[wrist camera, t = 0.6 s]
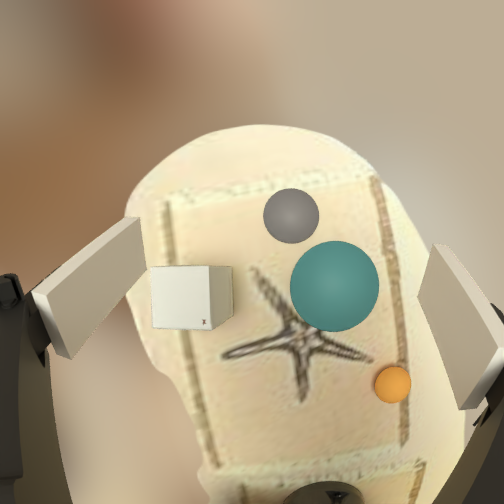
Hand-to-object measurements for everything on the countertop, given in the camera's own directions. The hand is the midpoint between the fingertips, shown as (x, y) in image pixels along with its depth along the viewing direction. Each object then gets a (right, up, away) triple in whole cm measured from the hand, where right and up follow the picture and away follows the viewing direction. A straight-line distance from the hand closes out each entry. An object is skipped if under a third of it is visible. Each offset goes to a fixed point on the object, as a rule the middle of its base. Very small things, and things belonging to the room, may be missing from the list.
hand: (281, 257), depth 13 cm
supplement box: (-8, -6, +33) cm, 35 cm away
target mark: (+11, -5, +31) cm, 33 cm away
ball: (+19, -19, +26) cm, 38 cm away
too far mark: (+4, +5, +32) cm, 33 cm away
